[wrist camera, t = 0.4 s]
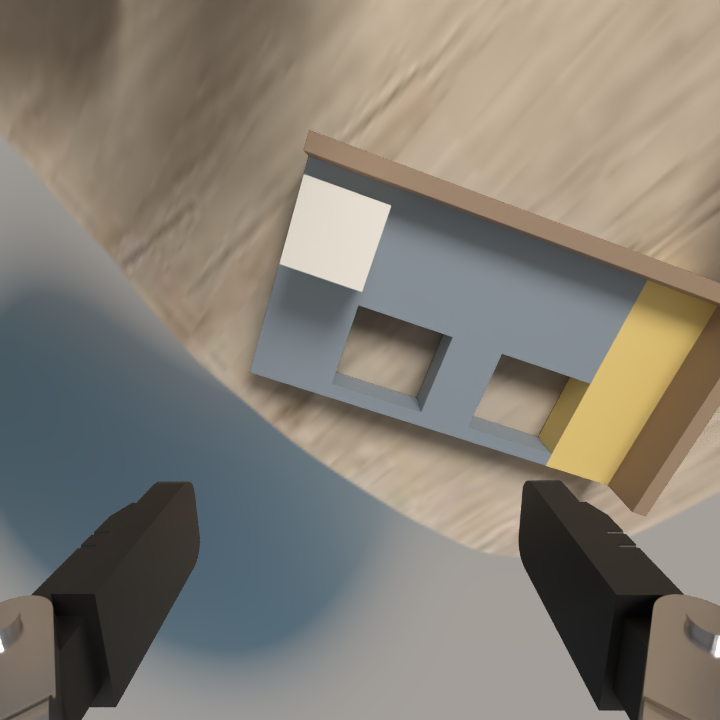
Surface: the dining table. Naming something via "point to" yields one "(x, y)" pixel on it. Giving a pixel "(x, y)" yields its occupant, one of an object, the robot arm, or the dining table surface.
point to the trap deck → (511, 327)
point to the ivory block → (334, 233)
